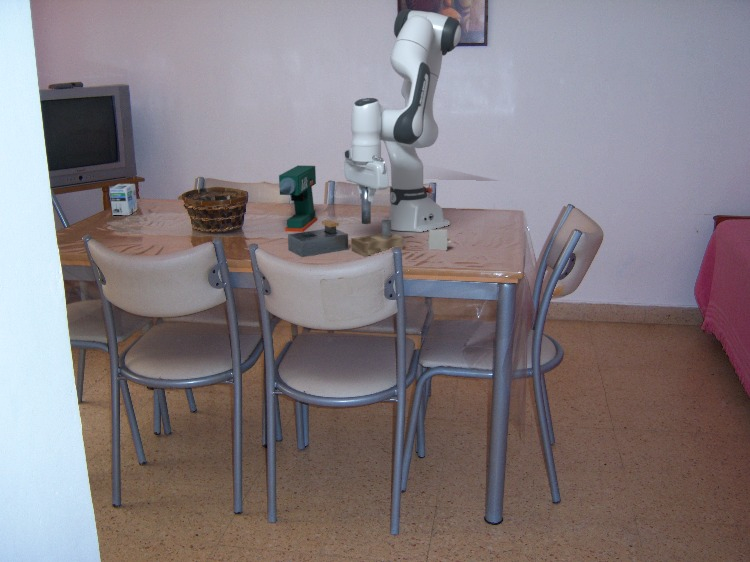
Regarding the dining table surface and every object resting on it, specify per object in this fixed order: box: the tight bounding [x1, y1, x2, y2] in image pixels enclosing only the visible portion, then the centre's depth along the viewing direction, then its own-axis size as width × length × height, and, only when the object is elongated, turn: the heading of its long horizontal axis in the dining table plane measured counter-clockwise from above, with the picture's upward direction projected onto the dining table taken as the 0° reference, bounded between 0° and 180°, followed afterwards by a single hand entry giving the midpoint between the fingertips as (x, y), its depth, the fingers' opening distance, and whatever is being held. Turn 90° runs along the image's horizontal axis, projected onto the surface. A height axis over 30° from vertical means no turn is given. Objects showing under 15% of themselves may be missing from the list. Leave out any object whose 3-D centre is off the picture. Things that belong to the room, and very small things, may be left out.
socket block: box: [287, 228, 349, 258], centre depth 246 cm, size 16×10×5 cm, turn 121°
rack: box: [350, 219, 404, 257], centre depth 244 cm, size 14×8×9 cm, turn 121°
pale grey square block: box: [427, 228, 452, 251], centre depth 243 cm, size 3×7×7 cm, turn 91°
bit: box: [361, 186, 372, 225], centre depth 239 cm, size 3×3×11 cm
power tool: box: [278, 165, 319, 233], centre depth 270 cm, size 32×7×20 cm, turn 168°
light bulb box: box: [109, 183, 138, 216], centre depth 300 cm, size 11×7×11 cm, turn 179°
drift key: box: [321, 219, 340, 235], centre depth 248 cm, size 3×5×8 cm, turn 31°
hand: (366, 200), depth 238 cm, fingers closed on bit, 3 cm apart
